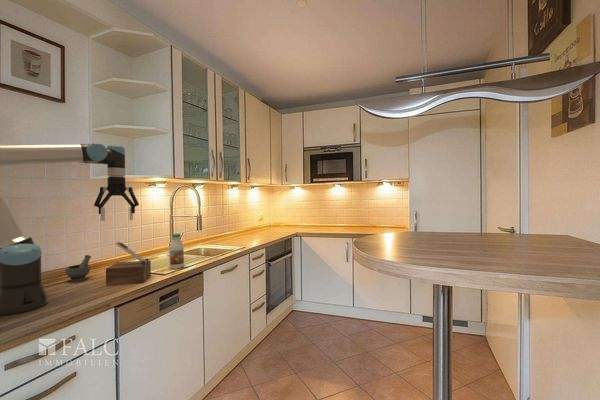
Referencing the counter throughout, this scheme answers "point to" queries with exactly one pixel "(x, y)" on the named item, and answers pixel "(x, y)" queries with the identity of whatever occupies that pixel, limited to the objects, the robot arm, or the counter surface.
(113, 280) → the crate
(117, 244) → the clasp bar
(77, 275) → the mortar and pestle
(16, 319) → the counter surface
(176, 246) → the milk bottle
